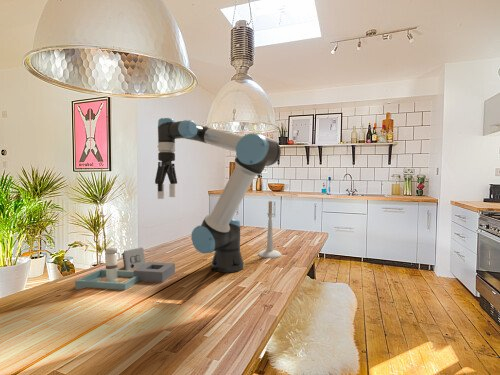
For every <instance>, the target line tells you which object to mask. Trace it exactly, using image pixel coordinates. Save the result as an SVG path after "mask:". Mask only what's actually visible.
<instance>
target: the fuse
mask: <svg viewBox="0 0 500 375" xmlns="http://www.w3.org/2000/svg"><path fill="white" fill-rule="evenodd" d="M105 269H106V277H105V282H118V276H117V270H118V247H112V248H106V249H105Z"/></svg>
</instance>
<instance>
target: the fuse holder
mask: <svg viewBox="0 0 500 375" xmlns="http://www.w3.org/2000/svg"><path fill="white" fill-rule="evenodd" d="M133 271H134V277H135V276H138V282H145V283H146V282H147V283H160V284H161V283H165V282H166V280H168V279H169V278H170V277H172V276H173V275H174V274H176V263H175V262H174V263H173V262H172V263H171V262H157V261H156V262H155V261H154V262H153V261H148V262H146V264H144V265H143V266H141V267H137V268H135V269H134V270H133Z"/></svg>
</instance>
